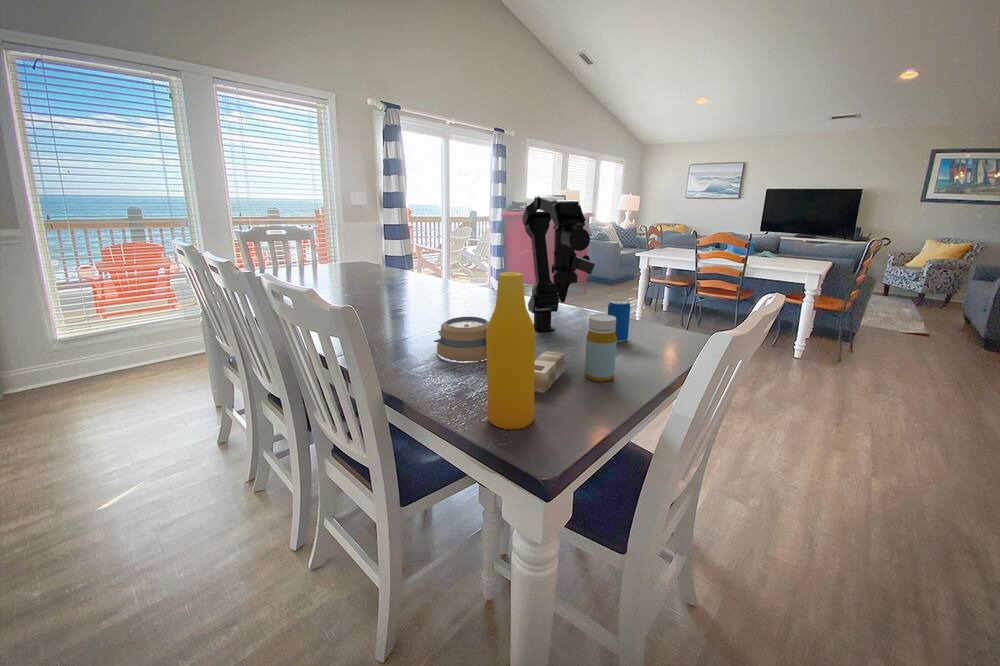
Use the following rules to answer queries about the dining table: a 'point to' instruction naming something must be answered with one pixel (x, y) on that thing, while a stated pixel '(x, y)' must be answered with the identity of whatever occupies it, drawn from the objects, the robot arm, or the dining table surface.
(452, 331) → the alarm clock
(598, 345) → the bottle
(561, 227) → the robot arm
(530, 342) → the beer bottle
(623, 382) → the dining table surface
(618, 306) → the beverage can
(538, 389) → the block
